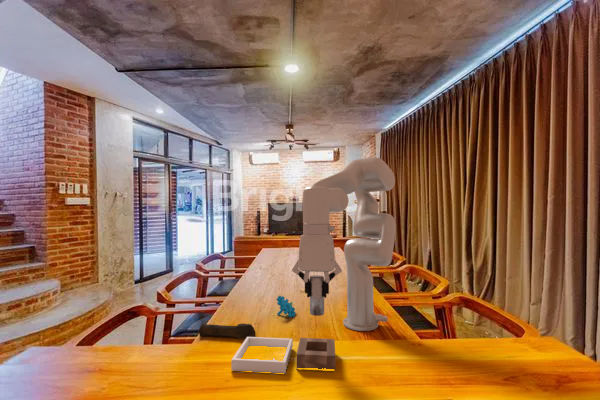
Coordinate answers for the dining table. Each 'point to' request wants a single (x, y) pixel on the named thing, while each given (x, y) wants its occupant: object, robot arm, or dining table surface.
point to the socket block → (316, 353)
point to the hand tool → (227, 330)
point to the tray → (262, 365)
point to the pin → (316, 295)
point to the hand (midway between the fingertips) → (316, 295)
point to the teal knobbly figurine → (285, 306)
